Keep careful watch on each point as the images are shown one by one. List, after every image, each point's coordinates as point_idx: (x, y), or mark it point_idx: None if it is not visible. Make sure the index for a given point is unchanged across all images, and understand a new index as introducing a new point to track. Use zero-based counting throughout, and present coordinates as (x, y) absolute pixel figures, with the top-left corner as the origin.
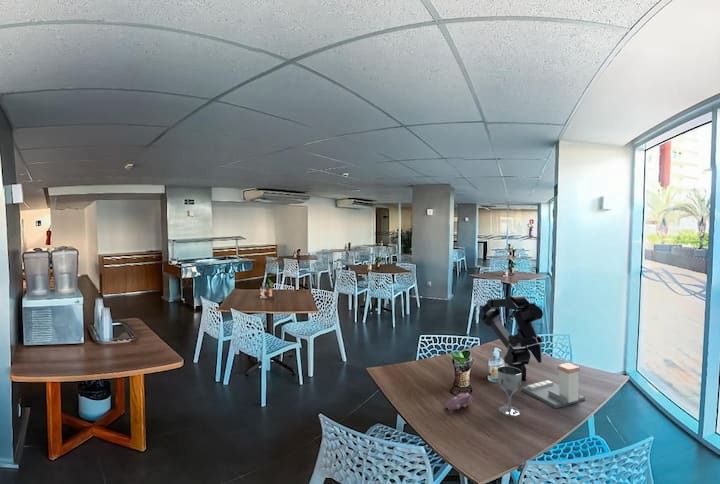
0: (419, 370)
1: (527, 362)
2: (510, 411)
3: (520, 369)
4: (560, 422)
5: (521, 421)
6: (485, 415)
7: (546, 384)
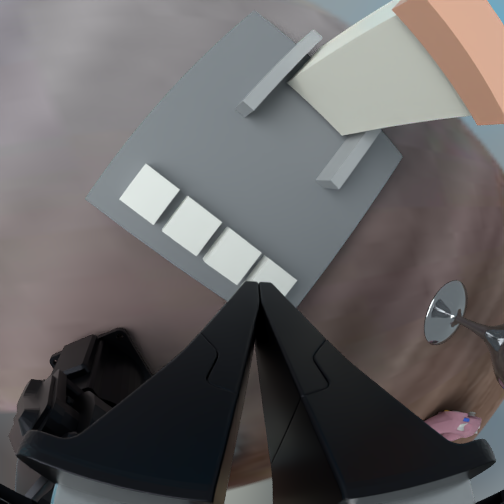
0: None
1: (64, 382)
2: (460, 309)
3: (129, 393)
4: (462, 155)
5: (480, 267)
6: (467, 356)
7: (197, 204)
